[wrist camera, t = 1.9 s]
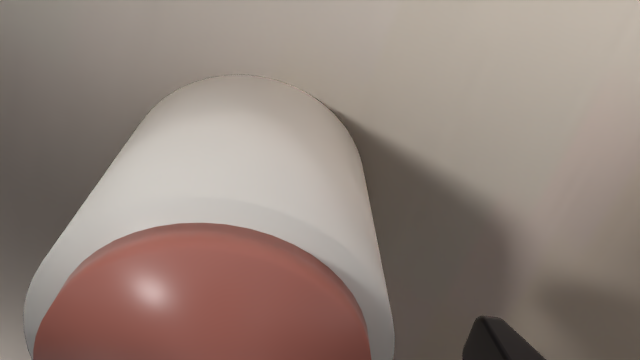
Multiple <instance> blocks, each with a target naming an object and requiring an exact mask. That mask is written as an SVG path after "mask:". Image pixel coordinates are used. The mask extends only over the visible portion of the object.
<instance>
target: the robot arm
mask: <svg viewBox="0 0 640 360" xmlns="http://www.w3.org/2000/svg"><path fill="white" fill-rule="evenodd" d="M463 360H546V359H545V358H544V357H543V356H542V355H541V354H539V353H538V352H537V351H536V350H535V349H534V348H533V347H532V346H531V345H530V344H529V343H528V342H526V341H525V340H524V339H523V338H522V337H521V336H520V335H519V334H518V333H517V332H516V331H515V330H514V329H512V328H511V327H510V326H509V325H508V324H507V323H506V322H505V321H504V320H502V319H501V318H497V317H488V316H479V317H478V318H477V319H476V320H475V322H474V324H473V327H472V329H471V331H470V334H469V336H468V338H467V341H466V343H465V345H464V348H463Z"/></svg>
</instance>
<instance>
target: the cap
mask: <svg viewBox="0 0 640 360" xmlns="http://www.w3.org/2000/svg"><path fill="white" fill-rule="evenodd" d="M23 321H24V334H25V339H26V343H27V347H28V351H29V353H30V356H31V358H32V360H393V356H394V344H395V334H394V325H393V318H392V313H391V308H390V303H389V298H388V293H387V288H386V283H385V278H384V272H383V267H382V262H381V257H380V252H379V247H378V242H377V237H376V232H375V227H374V222H373V217H372V212H371V206H370V201H369V196H368V191H367V186H366V181H365V176H364V171H363V166H362V162H361V159H360V155H359V152H358V150H357V147H356V145H355V143H354V141H353V139H352V137H351V135H350V134H349V132H348V131H347V129H346V128H345V126H344V125H343V124H342V122H341V121H340V120H339V119H338V118H337V117H336V115H335V114H334V113H333V112H332V111H330V110H329V109H328V108H327V107H326V106H325V105H324V104H323V103H321V102H320V101H318V100H317V99H315V98H314V97H312V96H311V95H310V94H308V93H306V92H304V91H302V90H300V89H298V88H296V87H294V86H292V85H289V84H286V83H283V82H281V81H278V80H274V79H269V78H265V77H261V76H251V75H224V76H217V77H211V78H207V79H203V80H200V81H197V82H193V83H191V84H189V85H186V86H184V87H182V88H180V89H178V90H176V91H174V92H173V93H171V94H170V95H168V96H167V97H165V98H164V99H162V100H161V101H160V102H159V103H158V104H157V105H156V106H154V107H153V108H152V109H151V110H150V112H149V113H148V114H147V115H146V116H145V118H144V119H143V120H142V121H141V123H140V124H139V126H138V127H137V128H136V130H135V131H134V133H133V134H132V135H131V137H130V138H129V140H128V141H127V143H126V144H125V145H124V147H123V148H122V150H121V151H120V152H119V154H118V155H117V157H116V158H115V159H114V161H113V162H112V164H111V165H110V167H109V168H108V169H107V171H106V172H105V174H104V175H103V176H102V178H101V179H100V181H99V182H98V183H97V185H96V186H95V188H94V189H93V191H92V192H91V193H90V195H89V196H88V198H87V199H86V200H85V202H84V203H83V205H82V206H81V207H80V209H79V210H78V212H77V213H76V215H75V216H74V217H73V219H72V220H71V222H70V223H69V224H68V226H67V227H66V229H65V230H64V231H63V233H62V234H61V236H60V237H59V238H58V240H57V241H56V243H55V244H54V246H53V247H52V248H51V250H50V251H49V253H48V254H47V255H46V257H45V258H44V260H43V261H42V263H41V264H40V266H39V268H38V269H37V271H36V273H35V275H34V276H33V278H32V281H31V283H30V286H29V289H28V292H27V294H26V299H25V306H24V312H23Z"/></svg>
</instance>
